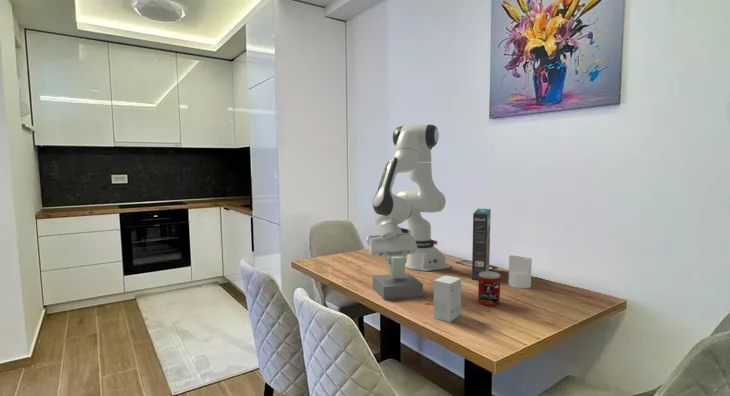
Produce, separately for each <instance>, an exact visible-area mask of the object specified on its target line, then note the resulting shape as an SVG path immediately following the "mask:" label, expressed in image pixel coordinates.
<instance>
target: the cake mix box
mask: <svg viewBox="0 0 730 396" xmlns="http://www.w3.org/2000/svg"><path fill="white" fill-rule="evenodd" d="M491 211H492V210H491V208H477V209H476V210H475V211H474V212H473V215H472V253H471V255H472V256H471V257H472V258H471V259H472V260H471V261H472V262H471V264H472V265H471V270H472V271H471V280H472V281H479V273H480V272H483V271H490V256H491V255H490V249H491V248H490V247H491V245H490V244H491V217H492V216H491V215H492V214H491Z"/></svg>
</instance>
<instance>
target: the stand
mask: <svg viewBox="0 0 730 396" xmlns="http://www.w3.org/2000/svg"><path fill="white" fill-rule="evenodd" d="M372 288H373V290H375V292H377V294H378V295H379V296H380V297H381V298H382V300H383V301H384V300H385V301H387V300H396V299H407V298H408V299H409V298H416V297H417V298H419V297H423V295H424V283H422V282H421V281H420V280H419V279H417V278H416V277H415V276H413V275H412V274H410V273H409V272H405V277H401V278H392V277H391V276H390V275H389V273H386V274H375V275H372Z"/></svg>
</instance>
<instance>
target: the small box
mask: <svg viewBox="0 0 730 396" xmlns="http://www.w3.org/2000/svg"><path fill="white" fill-rule="evenodd" d="M461 313H462V277H461V278H460V277H457V276H452V275H446V274H444V275H443V276H441V277H439V278H436V279H434V280H433V318H434V319H437V320H440V321H442V322H447V323H451V322H453V321H454V320H456V319H457V318H458V317H460V316H461Z"/></svg>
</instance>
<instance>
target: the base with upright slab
mask: <svg viewBox="0 0 730 396" xmlns="http://www.w3.org/2000/svg"><path fill="white" fill-rule="evenodd" d="M532 260H533V258H530V257H525V256H519V255H514V254H512V255H509V257H508V279H507V280H508V284H507V285H509V286H511V287H513V288H517V289H518V288H519V289H528V288H531V286H532V267H533V266H532V263H533V262H532Z"/></svg>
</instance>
